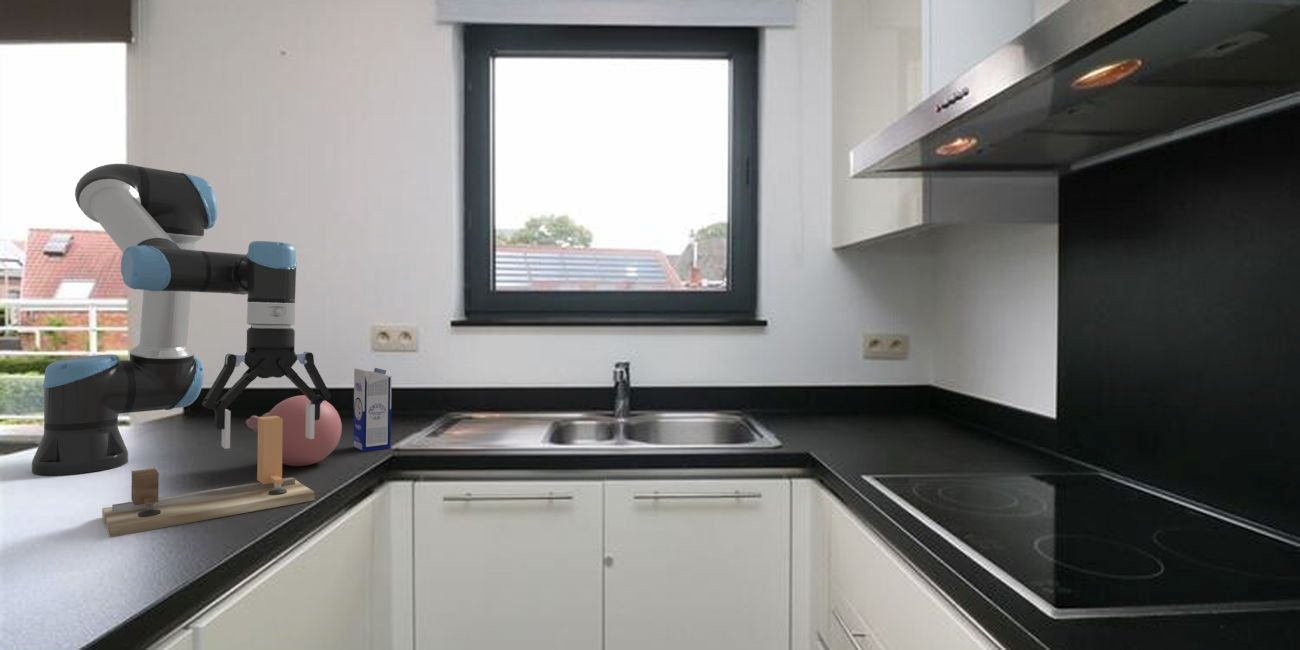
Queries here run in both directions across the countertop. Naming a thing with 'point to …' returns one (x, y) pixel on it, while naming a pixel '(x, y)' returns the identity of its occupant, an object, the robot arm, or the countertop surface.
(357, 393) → the milk carton
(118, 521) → the wooden slotted board
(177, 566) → the countertop surface
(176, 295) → the robot arm
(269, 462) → the orange wooden block
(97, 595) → the countertop surface
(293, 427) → the balloon
